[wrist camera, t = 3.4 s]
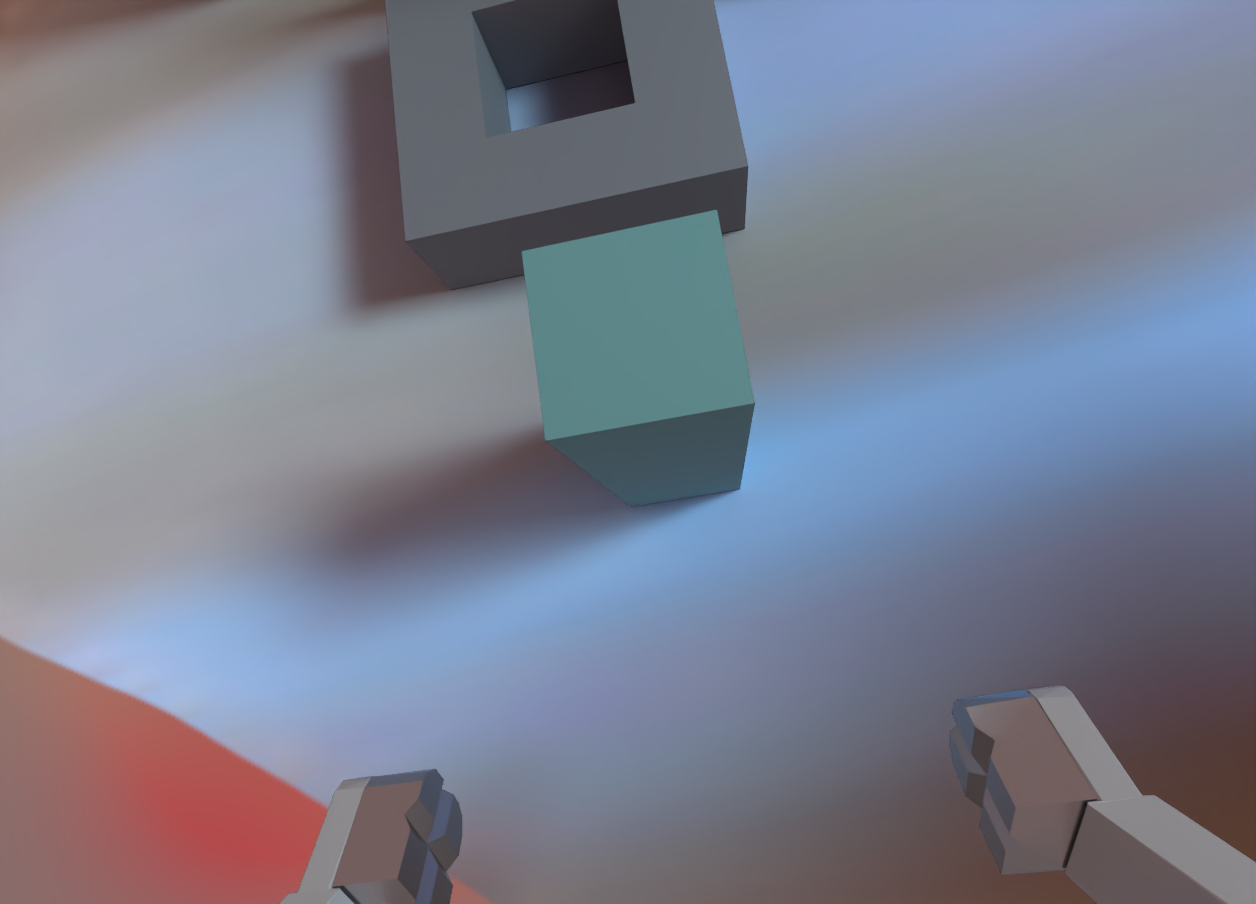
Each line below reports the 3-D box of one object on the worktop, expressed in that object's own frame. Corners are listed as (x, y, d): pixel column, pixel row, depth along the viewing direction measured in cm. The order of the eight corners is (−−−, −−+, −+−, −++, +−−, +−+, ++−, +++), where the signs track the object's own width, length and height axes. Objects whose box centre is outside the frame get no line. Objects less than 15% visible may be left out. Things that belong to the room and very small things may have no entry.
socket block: (692, -24, 28) (687, -121, 24) (744, 228, 26) (748, 166, 22) (426, 43, 29) (381, -38, 26) (451, 289, 27) (405, 241, 23)
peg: (720, 384, 25) (716, 209, 13) (739, 489, 24) (754, 403, 12) (615, 403, 25) (521, 251, 13) (631, 506, 24) (545, 441, 13)
